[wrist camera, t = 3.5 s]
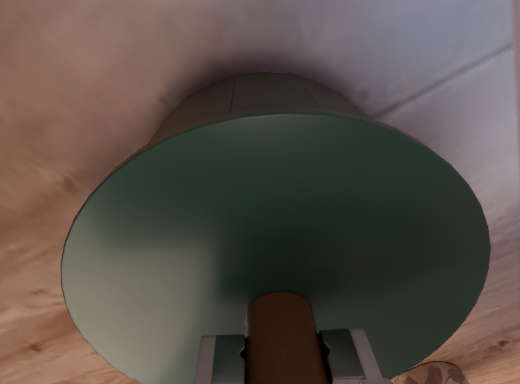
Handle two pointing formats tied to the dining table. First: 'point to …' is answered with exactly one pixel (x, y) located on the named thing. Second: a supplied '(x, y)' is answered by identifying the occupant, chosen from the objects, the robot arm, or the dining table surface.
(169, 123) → the pot
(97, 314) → the lid
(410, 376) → the figurine
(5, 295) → the dining table surface
